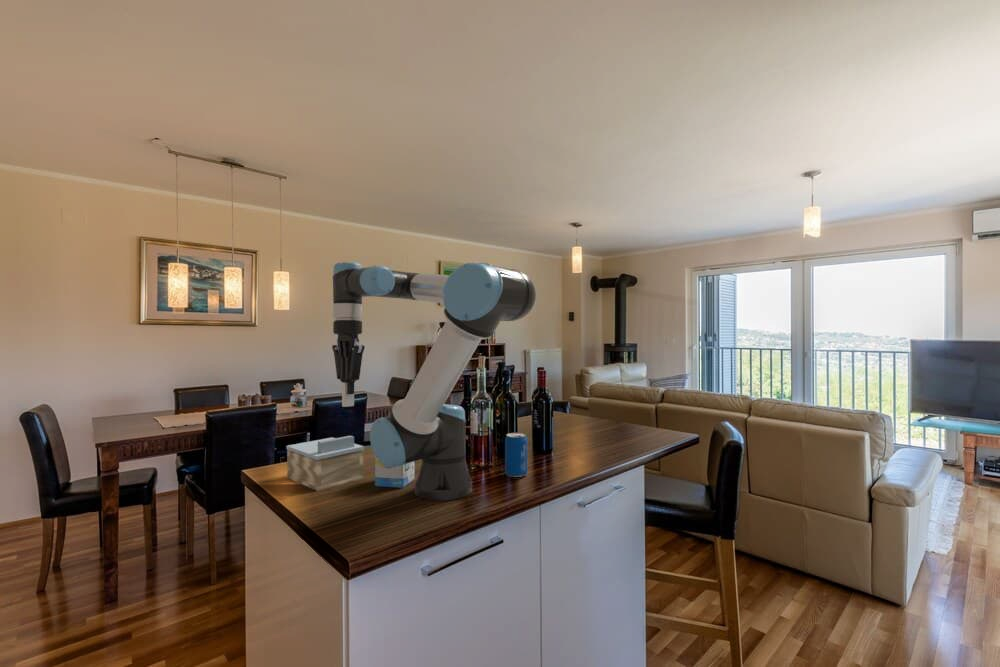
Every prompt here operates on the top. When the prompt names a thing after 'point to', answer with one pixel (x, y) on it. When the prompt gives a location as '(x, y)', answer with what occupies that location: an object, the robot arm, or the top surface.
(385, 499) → the top surface
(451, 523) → the top surface
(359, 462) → the open wooden box
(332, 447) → the lid
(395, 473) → the ink box
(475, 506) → the top surface
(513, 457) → the beverage can
